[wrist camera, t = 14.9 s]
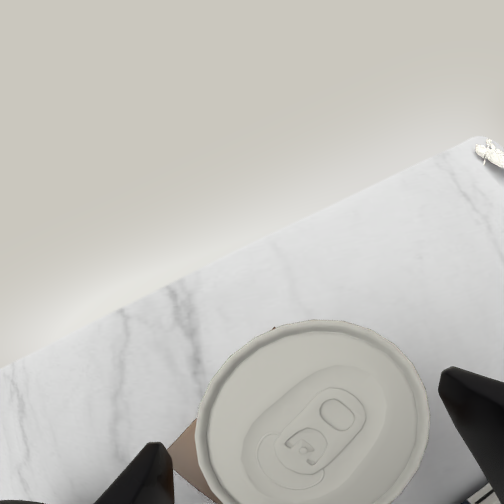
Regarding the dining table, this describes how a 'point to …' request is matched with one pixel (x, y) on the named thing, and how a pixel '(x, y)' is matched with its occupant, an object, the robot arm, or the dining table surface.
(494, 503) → the toy car
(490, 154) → the figurine
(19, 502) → the decorative egg
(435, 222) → the dining table surface
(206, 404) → the beverage can
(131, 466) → the robot arm
